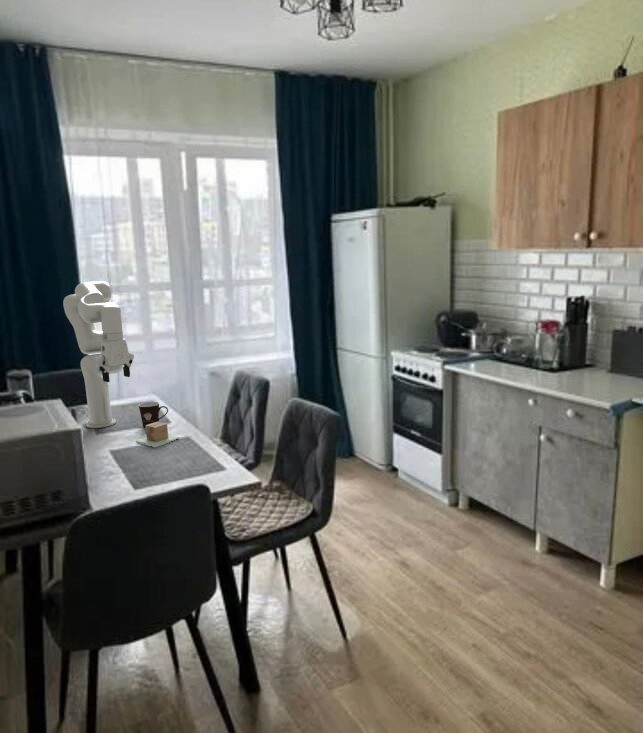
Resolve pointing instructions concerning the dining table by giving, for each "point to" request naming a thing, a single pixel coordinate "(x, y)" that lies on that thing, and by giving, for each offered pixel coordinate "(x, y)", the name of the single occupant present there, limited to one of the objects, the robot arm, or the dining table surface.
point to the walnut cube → (156, 431)
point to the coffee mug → (150, 412)
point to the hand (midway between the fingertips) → (116, 379)
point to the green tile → (159, 443)
